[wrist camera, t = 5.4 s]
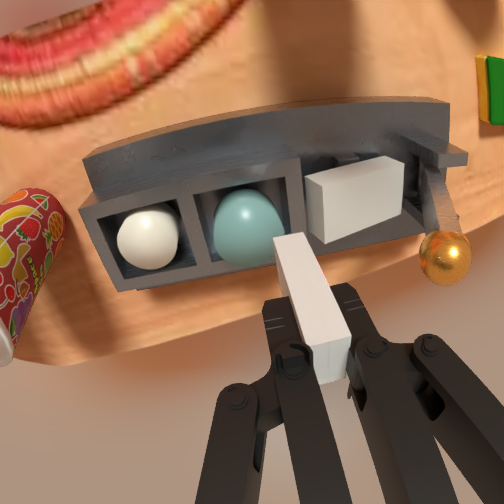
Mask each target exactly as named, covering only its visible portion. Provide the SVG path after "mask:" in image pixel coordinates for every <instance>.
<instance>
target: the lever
mask: <svg viewBox="0 0 504 504" xmlns="http://www.w3.org/2000/svg"><path fill="white" fill-rule="evenodd" d="M417 198H419V199H420V201H421V207H422V214H423V220H424V227H425V235H426V237H425V238H424V240H423V241H422V243H421V246H420V250H419V264H420V267H421V270H422V272H423V274H424V275H425V277H426V278H427V279H428V280H430V281H431V282H432V283H434V284H436V285H439V286H451V285H454V284H457V283H458V282H460V281H461V280H462V279H463V278H464V277H465V276H466V275H467V273H468V272H469V269H470V267H471V263H472V249H471V246H470V243H469V241H468V240H467V238H466V237H465V236H464V234H463V233H462V231H461V227H460V224H459V221H458V218H457V215H456V212H455V209H454V206H453V203H452V200H451V198H450V195H449V192H448V190H447V187H446V184H445V182H444V179H443V177H442V174H441V172H440V170H439V168H437V167H435V166H434V165H432V164H430V163H429V162H427V161H425V160H423V159H422V158H420V157H419V174H418V187H417Z"/></svg>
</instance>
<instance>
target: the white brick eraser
mask: <svg viewBox="0 0 504 504" xmlns="http://www.w3.org/2000/svg"><path fill="white" fill-rule="evenodd" d="M403 179H404V163H402V162H399V161H397V160H394V159H392V158H389V157H387V156H381V157H377V158H373V159H369V160H365V161H361V162H357V163H353V164H349V165H345V166H341V167H337V168H333V169H329V170H325V171H322V172H318V173H314V174H311V175H307V176H305V186H306V198H307V210H308V223H309V231H310V232H311V233H312V234H314V235H315V236H316V237H317V238H318V239H319V240H321V241H322V242H323V243H324V244H327V243H329V242H332V241H334V240H337V239H340V238H342V237H345V236H347V235H350V234H352V233H355V232H357V231H360V230H362V229H365V228H367V227H370V226H372V225H375V224H377V223H380V222H382V221H385V220H387V219H390V218H392V217H395V216H397V215H400V214H401V207H402V195H403Z"/></svg>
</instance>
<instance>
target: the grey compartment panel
mask: <svg viewBox="0 0 504 504" xmlns="http://www.w3.org/2000/svg"><path fill="white" fill-rule="evenodd" d="M449 126H450V103H447V102H444V101H440V100H437V99H433V98H429V97H401V96H385V97H352V98H335V99H322V100H311V101H301V102H293V103H285V104H277V105H270V106H263V107H257V108H251V109H245V110H239V111H234V112H228V113H223V114H218V115H213V116H209V117H204V118H200V119H195V120H191V121H187V122H183V123H179V124H175V125H171V126H167V127H163V128H159V129H156V130H152V131H149V132H145V133H142V134H139V135H135V136H132V137H129V138H126V139H122V140H119V141H116V142H113V143H110V144H107V145H105V146H102V147H99V148H96V149H95V150H94V151H92V152H91V153H90V154H89V155H87V156H86V157H85V158H83V159H82V160H83V163H84V166H85V169H86V172H87V175H88V178H89V180H90V183H91V186H92V189H93V192H92V193H91V194H90V196H89V197H88V198H87V199H86V200H85V202H84V203H83V204H82V205H81V207H80V208H79V209H78V210H79V212H80V215H81V217H82V219H83V222H84V224H85V226H86V229H87V231H88V233H89V235H90V237H91V240H92V242H93V244H94V246H95V248H96V250H97V252H98V254H99V256H100V259H101V261H102V263H103V265H104V267H105V269H106V271H107V273H108V274H109V276H110V278H111V280H112V282H113V284H114V286H115V288H116V290H117V292H122V291H128V290H133V289H136V290H137V291H139V290H145V289H150V288H156V287H161V286H167V285H172V284H177V283H183V282H188V281H193V280H198V279H204V278H209V277H214V276H219V275H224V274H229V273H235V272H240V271H245V270H250V269H255V268H260V267H265V266H270V265H275V264H276V258H275V257H273V258H272V259H271V260H269V261H268V262H266V263H264V264H262V265H259V266H255V267H239V266H235V265H232V264H230V263H228V262H226V261H225V260H224V259H223V258H222V257H221V256H220V255H219V254H218V252H217V250H216V248H215V245H214V220H213V217H214V211H215V208H216V206H217V204H218V203H219V202H220V200H221V199H222V198H223V197H224V196H226V195H227V194H229V193H231V192H233V191H236V190H240V189H253V190H257V191H260V192H262V193H264V194H265V195H266V196H268V197H269V198H270V199H271V201H272V202H273V204H274V206H275V208H276V211H277V213H278V216H279V218H280V220H281V223H282V225H283V228H284V235H289V234H294V233H300V232H303V233H304V235H305V237H306V239H307V241H308V243H309V245H310V247H311V249H312V251H313V253H314V255H315V256H319V255H324V254H328V253H333V252H338V251H343V250H347V249H352V248H357V247H361V246H366V245H371V244H375V243H380V242H385V241H389V240H394V239H398V238H403V237H407V236H412V235H416V234H421V233H425V227H424V220H423V214H422V207H421V201H420V199H419V198H417V187H418V174H419V157H420V158H422V159H423V160H425V161H427V162H429V163H430V164H432V165H434V166H435V167H437V168H439V170H440V172H441V174H442V177H443V179H444V182H445V181H446V171H447V167H457V166H467V161H468V152H466V151H464V150H462V149H460V148H458V147H456V146H454V145H452V144H450V143H449ZM381 156H387V157H389V158H392V159H394V160H397V161H399V162H402V163H404V179H403V195H402V207H401V214H400V215H397V216H395V217H392V218H390V219H387V220H385V221H382V222H380V223H377V224H375V225H372V226H370V227H367V228H365V229H362V230H360V231H357V232H355V233H352V234H350V235H347V236H345V237H342V238H340V239H337V240H334V241H332V242H329V243H327V244H324V243H323V242H322V241H321V240H319V239H318V238H317V237H316V236H315V235H314V234H312V233H311V232H310V231H309V223H308V210H307V198H306V186H305V176H307V175H311V174H314V173H318V172H322V171H325V170H329V169H333V168H337V167H341V166H345V165H349V164H353V163H357V162H361V161H365V160H369V159H373V158H377V157H381ZM159 202H164V203H166V204H168V205H169V206H170V207H172V208H173V210H174V211H175V212H176V214H177V215H178V218H179V221H180V232H179V238H178V244H177V250H176V253H175V256H174V258H173V259H172V260H171V261H170V262H169V263H168V264H167V265H165V266H163V267H161V268H158V269H142V268H139V267H136V266H134V265H132V264H131V263H129V262H128V261H127V260H126V259H125V258H124V257H123V256H122V254H121V253H120V251H119V248H118V244H117V236H118V232H119V230H120V228H121V226H122V224H123V222H124V220H125V218H126V216H127V214H128V212H129V211H130V210H132V209H135V208H139V207H143V206H147V205H151V204H155V203H159ZM456 215H457V214H456ZM457 218H458V220H459V215H457Z"/></svg>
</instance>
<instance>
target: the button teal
mask: <svg viewBox="0 0 504 504" xmlns="http://www.w3.org/2000/svg"><path fill="white" fill-rule="evenodd" d="M213 220H214V245H215V248H216V250H217V252H218V254H219V255H220V256H221V257H222V258H223V259H224V260H225V261H226V262H228V263H230V264H232V265H235V266H239V267H255V266H259V265H262V264H264V263H266V262H268V261H269V260H271V259H272V258H273V257H275V251H274V244H273V238H274V237H279V236H284V228H283V225H282V223H281V220H280V218H279V216H278V213H277V211H276V208H275V206H274V204H273V202H272V201H271V199H270V198H269V197H268V196H266V195H265V194H264V193H262V192H260V191H257V190H253V189H240V190H236V191H233V192H231V193H229V194H227V195H226V196H224V197H223V198H222V199H221V200H220V202H219V203H218V204H217V206H216V208H215V211H214V217H213Z"/></svg>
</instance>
